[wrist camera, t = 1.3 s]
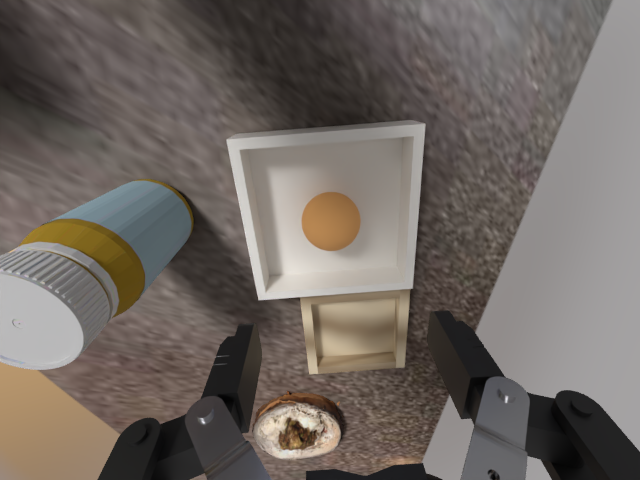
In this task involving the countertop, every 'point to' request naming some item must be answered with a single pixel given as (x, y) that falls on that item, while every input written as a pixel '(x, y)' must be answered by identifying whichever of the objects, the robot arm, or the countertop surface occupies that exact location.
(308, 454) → the sushi roll
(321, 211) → the ball
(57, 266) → the bottle
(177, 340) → the countertop surface
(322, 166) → the dish
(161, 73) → the countertop surface
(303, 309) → the tray
